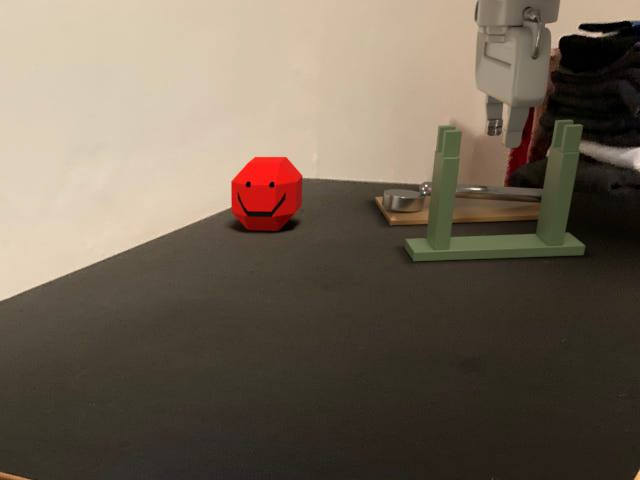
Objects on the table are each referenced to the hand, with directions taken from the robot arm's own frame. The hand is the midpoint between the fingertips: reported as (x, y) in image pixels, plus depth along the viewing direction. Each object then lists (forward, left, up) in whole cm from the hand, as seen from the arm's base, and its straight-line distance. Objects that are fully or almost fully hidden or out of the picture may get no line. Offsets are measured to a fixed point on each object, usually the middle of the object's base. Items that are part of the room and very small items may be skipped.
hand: (501, 141), depth 119 cm
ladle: (+3, 0, -8) cm, 8 cm away
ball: (+29, +4, -8) cm, 30 cm away
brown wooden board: (+4, -1, -8) cm, 9 cm away
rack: (+5, +20, -8) cm, 22 cm away
